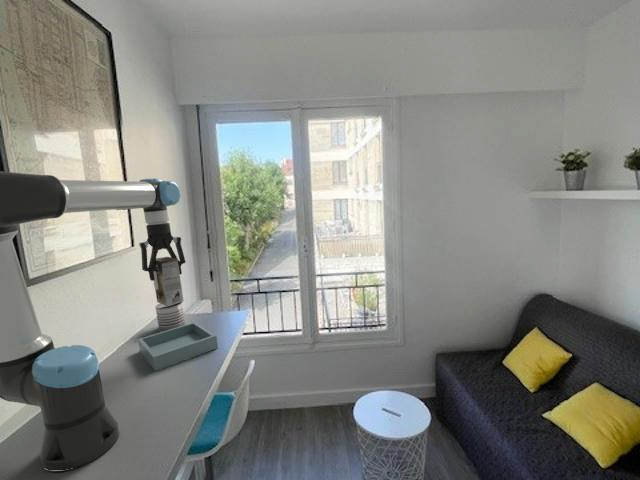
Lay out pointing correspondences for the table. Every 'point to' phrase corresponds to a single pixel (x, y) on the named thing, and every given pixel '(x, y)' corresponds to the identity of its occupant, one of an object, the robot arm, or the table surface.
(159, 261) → the coffee box
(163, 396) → the table surface
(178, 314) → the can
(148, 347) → the bin
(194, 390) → the table surface
